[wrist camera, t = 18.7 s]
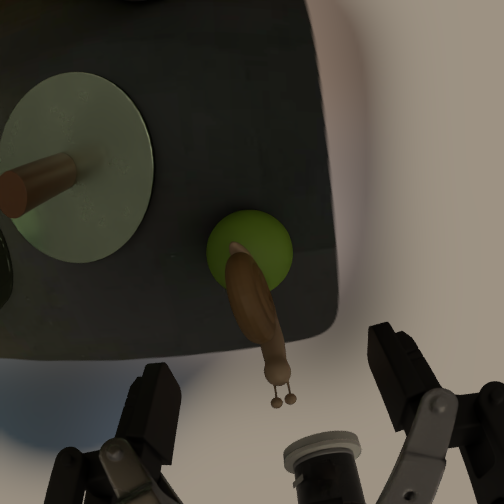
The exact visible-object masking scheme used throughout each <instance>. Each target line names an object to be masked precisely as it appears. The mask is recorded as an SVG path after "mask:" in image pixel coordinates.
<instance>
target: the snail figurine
mask: <svg viewBox="0 0 504 504" xmlns="http://www.w3.org/2000/svg"><path fill="white" fill-rule="evenodd" d="M206 256H207V263H208V266H209V269H210V271H211V273H212V275H213V277H214V278H215V279H216V281H217V282H218V283H219V284H220V285H221V286H223V287H224V288H225V289H227V294H228V298H229V302H230V305H231V308H232V311H233V314H234V316H235V319H236V321H237V323H238V325H239V327H240V329H241V331H242V332H243V334H244V335H245V336H246V337H247V338H248V339H249V340H250V341H251V342H254V343H257V344H260V345H261V350H262V353H263V357H264V361H265V368H264V373H265V377H266V379H267V380H268V382H269V383H271V384H273V386H274V389H275V398H273V399H272V401H271V405H272V407H274V408H280V407H281V406H282V403H283V401H282V400H281V399H280V398H278V397H277V392H276V386H282V385H284V384H285V383H287V385H288V390H289V394H287V395H286V396H285V402H286V403H287V404H289V405H291V404H294V403H295V402H296V396H295V395H294V394H291V392H290V386H289V378H290V375H291V369H290V366H289V364H288V362H287V360H286V351H285V343H284V338H283V334H282V331H281V328H280V325H279V321H278V318H277V315H276V310H275V306H274V303H273V299H272V296H271V293H270V291H271V290H272V289H274V288H275V287H277V286H278V285H279V284H280V283H281V282H282V281H283V279H284V278H285V277H286V275H287V273H288V271H289V269H290V266H291V263H292V257H293V249H292V243H291V239H290V237H289V234H288V232H287V231H286V229H285V228H284V226H283V225H282V224H281V223H280V222H279V221H278V220H277V219H276V218H274V217H273V216H271V215H269V214H267V213H265V212H262V211H258V210H241V211H237V212H234V213H232V214H230V215H228V216H226V217H225V218H223V219H222V220H221V221H220V222H219V223H218V224H217V225H216V226H215V228H214V229H213V231H212V232H211V234H210V237H209V239H208V243H207V249H206Z"/></svg>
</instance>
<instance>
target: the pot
mask: <svg viewBox="0 0 504 504" xmlns="http://www.w3.org/2000/svg"><path fill="white" fill-rule="evenodd" d="M12 286H13V271H12V264H11V259H10V255H9V251H8V248H7V245H6V242H5V239H4V237H3V234H2V232H1V230H0V309H1V308H2V307H3V305H4V304H5V302H6V301H7V300H8V298H9V297H10V294H11V291H12Z"/></svg>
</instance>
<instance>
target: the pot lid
mask: <svg viewBox="0 0 504 504" xmlns="http://www.w3.org/2000/svg"><path fill="white" fill-rule="evenodd" d="M154 181H155V156H154V148H153V143H152V138H151V135H150V132H149V129H148V126H147V123H146V121H145V119H144V117H143V115H142V113H141V111H140V110H139V108H138V107H137V105H136V104H135V102H134V101H133V100H132V99H131V97H130V96H129V95H128V94H127V93H126V92H125V91H124V90H123V89H121V88H120V87H119V86H118V85H117V84H115V83H113V82H112V81H110V80H108V79H106V78H104V77H101V76H98V75H96V74H91V73H85V72H68V73H62V74H58V75H55V76H52V77H50V78H48V79H46V80H44V81H42V82H40V83H39V84H38V85H36V86H35V87H33V88H32V89H31V90H30V91H29V92H28V93H27V94H26V95H25V96H24V97H23V98H22V99H21V100H20V101H19V103H18V104H17V105H16V107H15V108H14V110H13V112H12V113H11V115H10V117H9V119H8V121H7V123H6V125H5V128H4V131H3V134H2V137H1V142H0V209H1V211H2V212H3V213H4V214H5V215H6V216H8V217H10V218H11V220H12V222H13V223H14V225H15V226H16V228H17V229H18V231H19V232H20V233H21V234H22V235H23V237H24V238H25V239H26V240H27V241H28V242H29V243H30V244H31V245H33V246H34V247H35V248H37V249H38V250H39V251H41V252H43V253H44V254H46V255H48V256H50V257H52V258H55V259H57V260H61V261H65V262H71V263H87V262H93V261H97V260H100V259H102V258H105V257H107V256H109V255H111V254H113V253H114V252H115V251H117V250H118V249H120V248H121V247H122V246H123V245H124V244H125V243H126V242H127V241H128V240H129V239H130V238H131V237H132V235H133V234H134V233H135V232H136V230H137V229H138V228H139V226H140V224H141V222H142V221H143V219H144V217H145V215H146V212H147V210H148V207H149V205H150V201H151V197H152V194H153V188H154Z"/></svg>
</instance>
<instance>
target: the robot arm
mask: <svg viewBox="0 0 504 504" xmlns="http://www.w3.org/2000/svg"><path fill="white" fill-rule="evenodd" d="M367 356H368V363H369V366H370V369H371V372H372V374H373V376H374V379H375V381H376V384H377V386H378V389H379V391H380V393H381V395H382V398H383V401H384V403H385V406H386V408H387V411H388V413H389V416H390V419H391V422H392V424H393V427H394V429H395V432H398V431H401V430H404V431H405V433H406V436H407V437H406V439H405V442H404V445H403V447H402V450H401V452H400V455H399V457H398V459H397V461H396V464H395V466H394V468H393V470H392V473H391V475H390V477H389V479H388V481H387V483H386V485H385V487H384V489H383V491H382V493H381V495H380V497H379V499H378V501H377V502H376V504H432V502H433V500H434V497H435V495H436V492H437V489H438V486H439V484H440V481H441V479H442V476H443V472H444V470H445V466H446V460H445V456H446V452H447V449H448V448H454V447H459V449H460V452H461V455H462V457H463V460H464V463H465V466H466V469H467V472H468V475H469V477H470V481H471V484H472V487H473V490H474V494H475V497H476V500H477V503H478V504H504V384H503V383H501V382H497V381H493V382H489V383H487V384H485V385H484V386H483V387H482V389H481V390H480V392H479V393H473V394H465V395H455V394H454V393H452V392H451V391H450V390H447V389H444V388H442V387H441V386H440V384H439V382H438V380H437V379H436V377H435V375H434V373H433V372H432V370H431V368H430V366H429V365H428V363H427V362H426V360H425V358H424V357H423V355H422V353H421V351H420V350H419V349H418V346H417V345H416V343H415V342H414V340H413V339H412V337H410V336H409V335H408V334H406V333H405V332H403V331H400V332H397V333H395V332H394V330H393V329H392V327H391V325H390V324H389V323H388V322H384V323H380V324H376V325H373V326H369V329H368V350H367ZM127 397H128V398H127V399H126V402H125V407H124V408H123V412H122V415H121V418H120V421H119V425H118V428H117V432H116V435H115V437H114V438H112V439H109V440H108V441H106V442H105V443H104V444H103V445H102V447H101V449H100V450H98V451H93V452H87V453H82V452H80V451H79V450H78V449H77V448H75V447H66V448H64V449H62V450H61V451H60V452H59V453H58V455H57V457H56V459H55V463H54V467H53V470H52V473H51V477H50V481H49V485H48V488H47V492H46V497H45V501H44V504H82V502H83V496H84V492H85V490H86V495H85V500H84V504H183V503H182V501H181V500H180V499H179V497H178V496H177V494H176V493H175V492H174V490H173V489H172V488H171V486H170V484H169V483H168V482H167V480H166V479H165V477H164V476H163V474H162V473H161V472H160V471H161V465H171V464H172V456H173V450H174V443H175V436H176V429H177V422H178V416H179V410H180V405H181V390H180V387H179V385H178V383H177V381H176V379H175V378H174V376H173V374H172V372H171V371H170V369H169V367H168V365H167V364H166V363H165V362H162V363H151V364H147V365H146V366H145V369H144V372H143V375H142V377H137V378H136V380H135V381H134V382H133V384H132V385H131V386H130V389H129V392H128V395H127ZM293 470H294V473H295V481H294V482H293V487H294V488H295V487H296V490H297V496H298V497H297V498H298V504H366V503H365V500H364V495H363V491H362V487H361V483H360V479H359V475H358V471H357V467H356V463H355V456H354V453H353V451H352V450H351V449H348V448H342V447H337V448H328V449H322V450H318V451H315V452H312V453H309V454H306V455H304V456H302V457H300V458H299V459H297V460H296V461H295V462H294V464H293Z"/></svg>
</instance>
